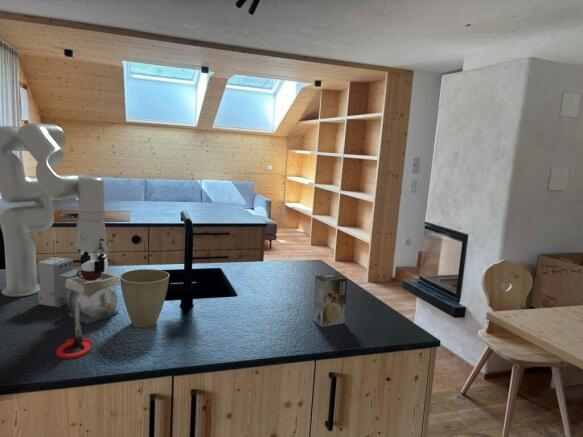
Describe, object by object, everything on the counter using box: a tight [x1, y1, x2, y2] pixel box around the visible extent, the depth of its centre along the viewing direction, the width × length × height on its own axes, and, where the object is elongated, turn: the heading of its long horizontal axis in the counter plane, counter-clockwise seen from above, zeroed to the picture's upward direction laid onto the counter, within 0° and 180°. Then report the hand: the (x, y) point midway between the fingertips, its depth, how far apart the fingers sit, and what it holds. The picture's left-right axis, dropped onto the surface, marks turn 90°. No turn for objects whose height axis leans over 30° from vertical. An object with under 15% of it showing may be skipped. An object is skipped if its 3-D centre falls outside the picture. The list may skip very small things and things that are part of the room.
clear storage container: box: [65, 272, 121, 325], centre depth 144 cm, size 16×13×13 cm
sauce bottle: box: [89, 250, 109, 273], centre depth 179 cm, size 8×8×18 cm
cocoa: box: [77, 241, 109, 281], centre depth 142 cm, size 10×6×12 cm, turn 108°
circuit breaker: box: [36, 256, 82, 308], centre depth 153 cm, size 8×14×15 cm, turn 78°
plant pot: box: [119, 268, 171, 329], centre depth 139 cm, size 15×15×16 cm
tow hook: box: [55, 302, 93, 360], centre depth 119 cm, size 8×13×9 cm
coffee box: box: [312, 273, 348, 328], centre depth 148 cm, size 9×6×16 cm
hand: (92, 269), depth 143 cm, fingers closed on cocoa, 6 cm apart
